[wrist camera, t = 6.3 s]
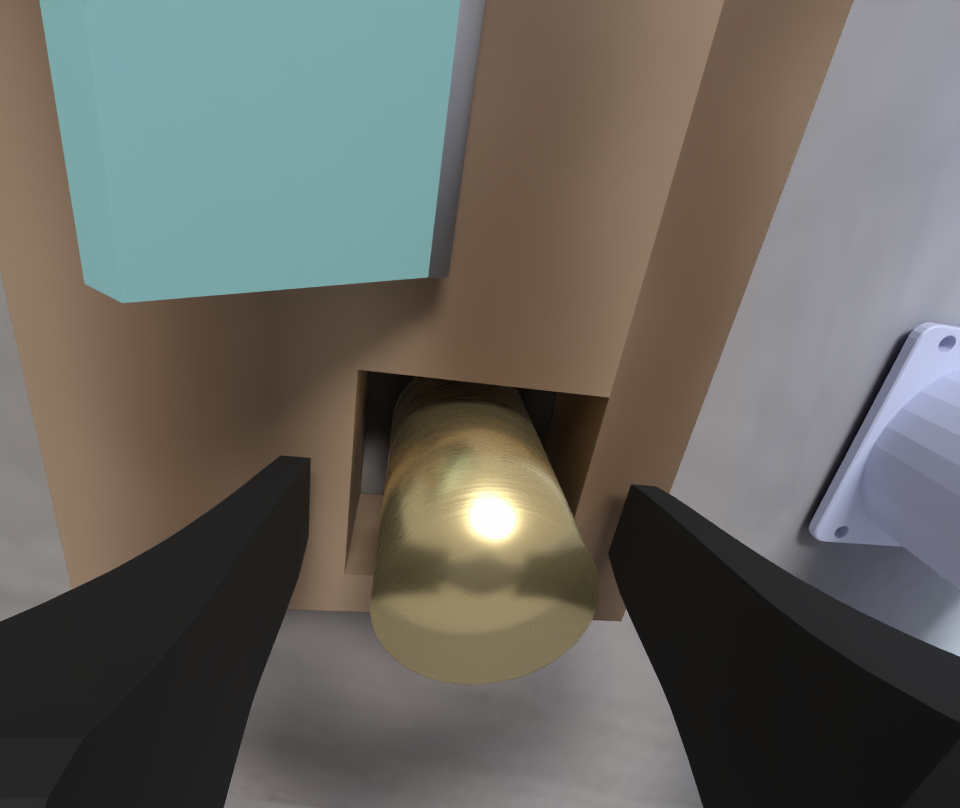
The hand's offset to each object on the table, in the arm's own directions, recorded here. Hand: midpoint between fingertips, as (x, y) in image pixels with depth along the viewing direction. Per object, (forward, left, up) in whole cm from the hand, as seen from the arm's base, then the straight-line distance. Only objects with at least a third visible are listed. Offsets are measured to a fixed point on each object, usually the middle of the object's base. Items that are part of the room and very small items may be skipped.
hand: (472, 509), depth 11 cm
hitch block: (+2, -4, -4) cm, 6 cm away
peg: (0, 0, -4) cm, 4 cm away
